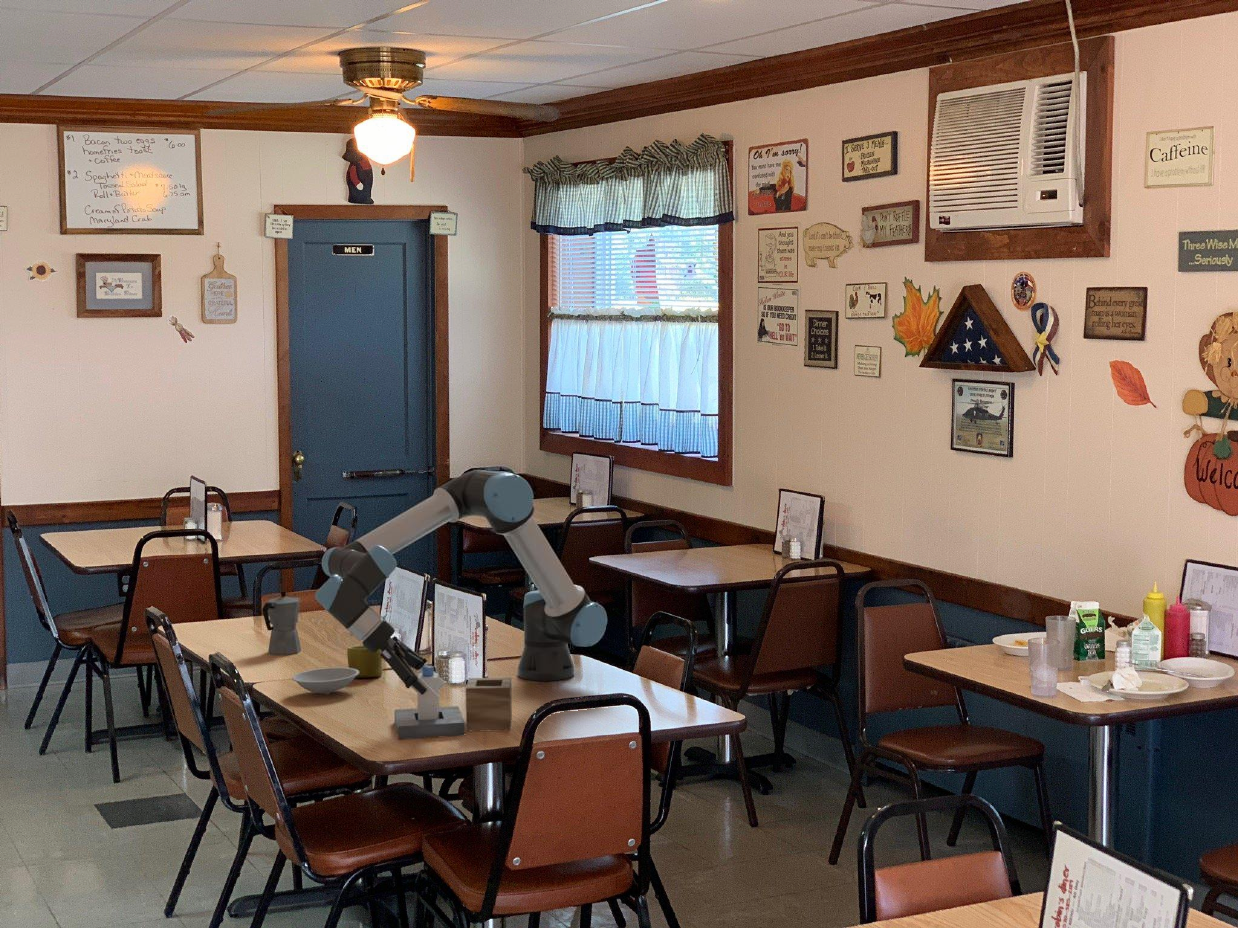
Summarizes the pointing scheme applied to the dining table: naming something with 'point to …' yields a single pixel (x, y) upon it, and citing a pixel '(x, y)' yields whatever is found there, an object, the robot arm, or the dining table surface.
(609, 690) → the dining table surface
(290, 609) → the coffeepot
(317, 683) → the dish
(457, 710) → the lower socket
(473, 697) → the upper socket
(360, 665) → the mug
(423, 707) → the plug
